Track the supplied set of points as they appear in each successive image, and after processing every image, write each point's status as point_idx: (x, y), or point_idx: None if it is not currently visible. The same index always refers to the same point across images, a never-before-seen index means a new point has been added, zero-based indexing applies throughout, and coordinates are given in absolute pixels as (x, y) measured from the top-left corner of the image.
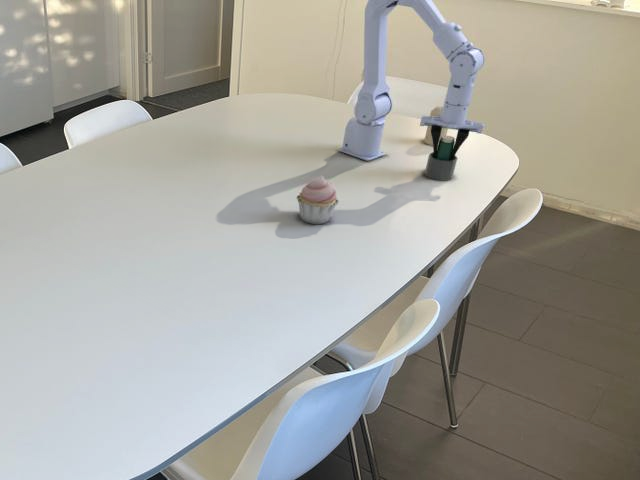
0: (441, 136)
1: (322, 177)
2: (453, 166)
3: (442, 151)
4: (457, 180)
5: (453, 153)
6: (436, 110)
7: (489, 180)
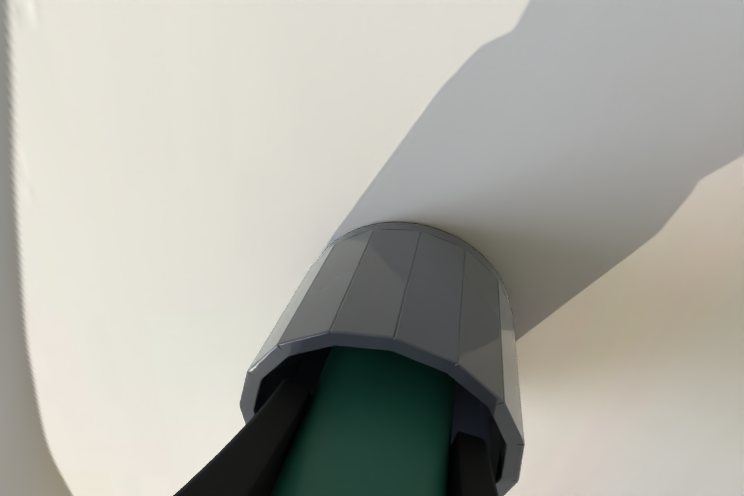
0: None
1: None
2: (288, 313)
3: (398, 478)
4: (275, 236)
5: (266, 436)
6: None
7: (82, 255)
